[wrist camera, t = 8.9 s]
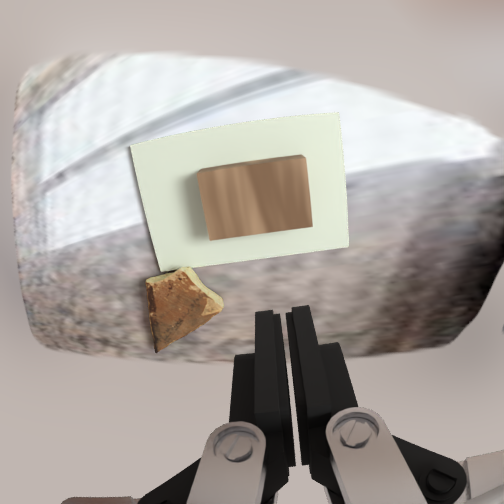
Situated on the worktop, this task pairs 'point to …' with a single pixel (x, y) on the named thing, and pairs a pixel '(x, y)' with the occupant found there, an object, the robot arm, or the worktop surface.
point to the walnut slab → (256, 197)
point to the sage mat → (234, 151)
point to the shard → (179, 305)
